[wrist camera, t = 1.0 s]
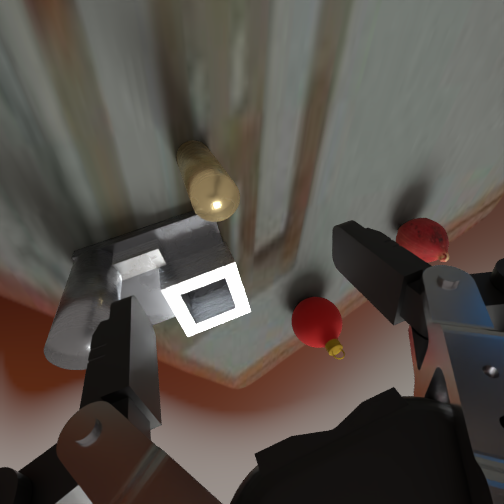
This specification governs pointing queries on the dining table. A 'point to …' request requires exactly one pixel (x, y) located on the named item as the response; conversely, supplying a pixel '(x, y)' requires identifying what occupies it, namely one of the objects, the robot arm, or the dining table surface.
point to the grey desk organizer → (148, 284)
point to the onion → (424, 239)
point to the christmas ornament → (318, 324)
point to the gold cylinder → (207, 182)
